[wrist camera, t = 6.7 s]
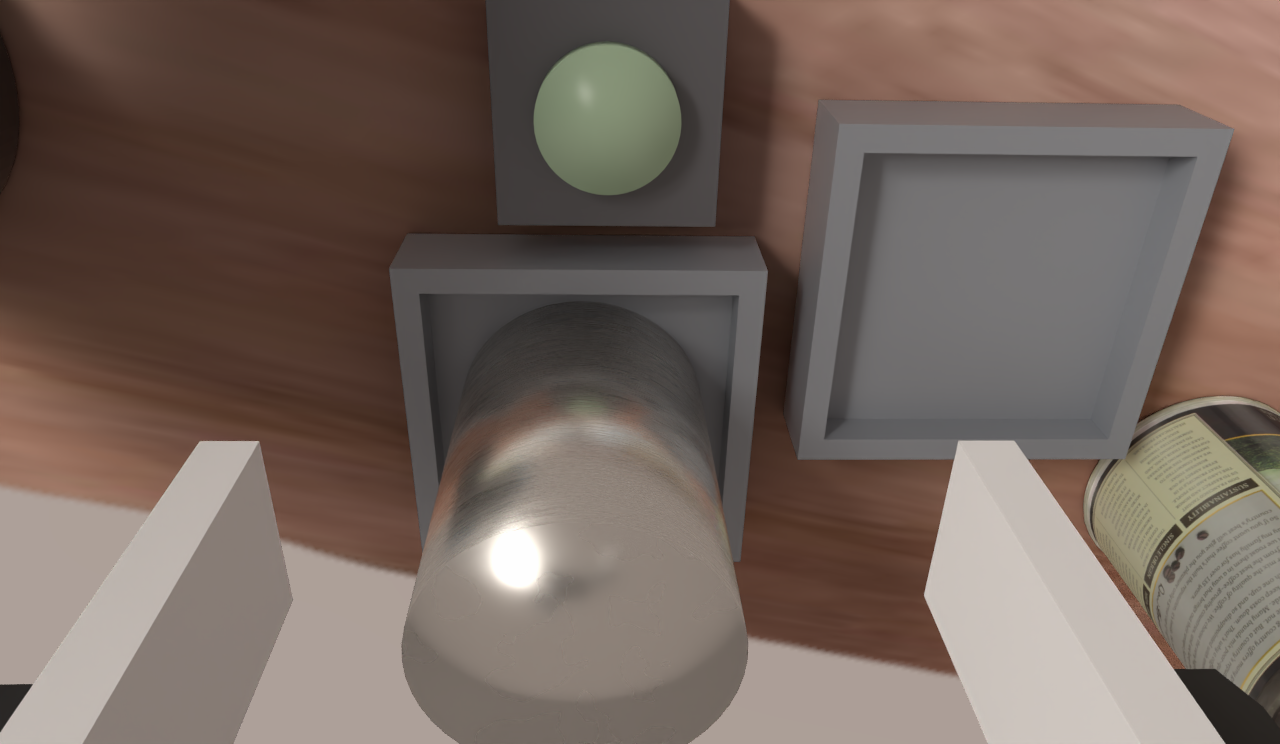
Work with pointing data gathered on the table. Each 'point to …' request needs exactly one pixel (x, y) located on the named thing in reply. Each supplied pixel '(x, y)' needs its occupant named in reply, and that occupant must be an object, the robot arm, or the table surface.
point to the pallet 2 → (991, 273)
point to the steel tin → (577, 545)
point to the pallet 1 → (568, 272)
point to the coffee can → (1201, 534)
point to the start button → (607, 110)
